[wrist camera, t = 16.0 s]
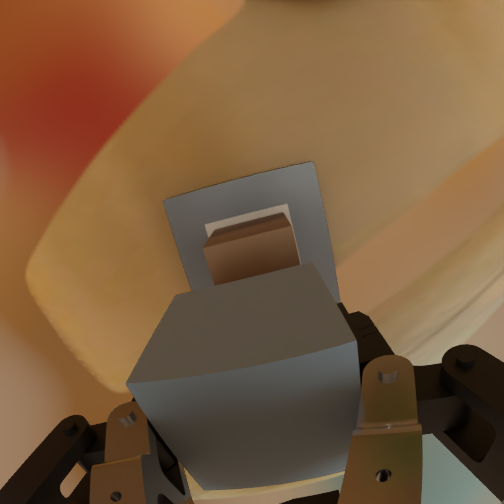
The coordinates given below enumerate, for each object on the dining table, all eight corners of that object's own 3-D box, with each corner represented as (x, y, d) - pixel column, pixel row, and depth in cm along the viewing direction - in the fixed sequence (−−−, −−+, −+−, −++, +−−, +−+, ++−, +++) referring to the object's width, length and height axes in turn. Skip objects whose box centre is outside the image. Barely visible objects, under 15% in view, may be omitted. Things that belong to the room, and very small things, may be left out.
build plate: (166, 199, 22) (162, 200, 21) (310, 161, 21) (313, 161, 20) (208, 326, 25) (206, 333, 24) (337, 296, 24) (340, 302, 23)
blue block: (175, 295, 11) (125, 383, 6) (312, 261, 10) (356, 340, 5) (217, 395, 12) (204, 490, 7) (332, 371, 11) (363, 465, 7)
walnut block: (214, 229, 21) (202, 248, 16) (283, 211, 21) (291, 225, 16) (233, 292, 22) (227, 325, 18) (298, 277, 22) (309, 306, 17)
